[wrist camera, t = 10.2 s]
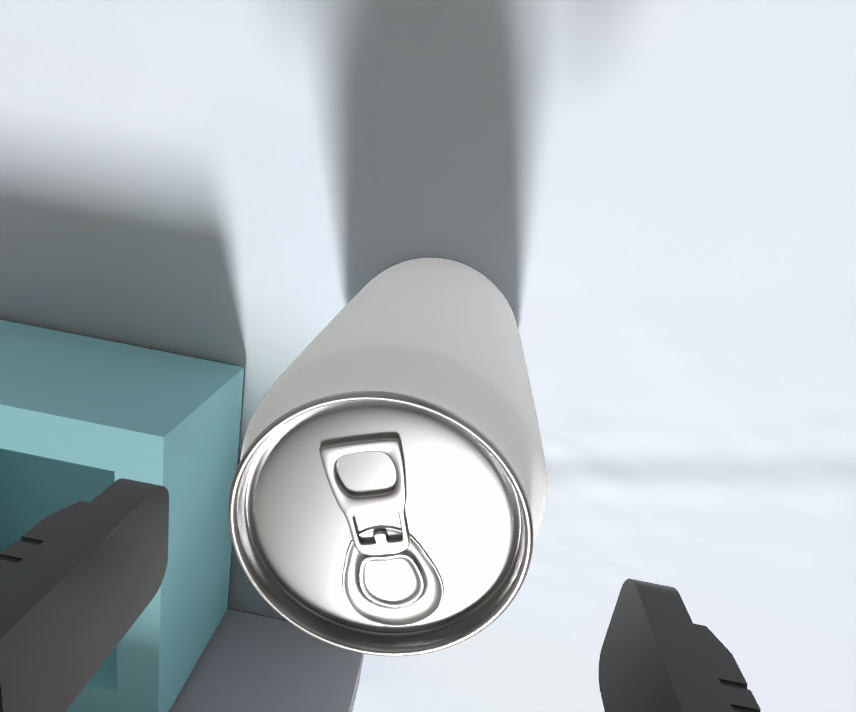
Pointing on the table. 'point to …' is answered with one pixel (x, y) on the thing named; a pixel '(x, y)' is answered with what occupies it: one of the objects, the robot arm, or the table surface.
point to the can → (396, 468)
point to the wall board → (269, 670)
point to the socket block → (131, 459)
